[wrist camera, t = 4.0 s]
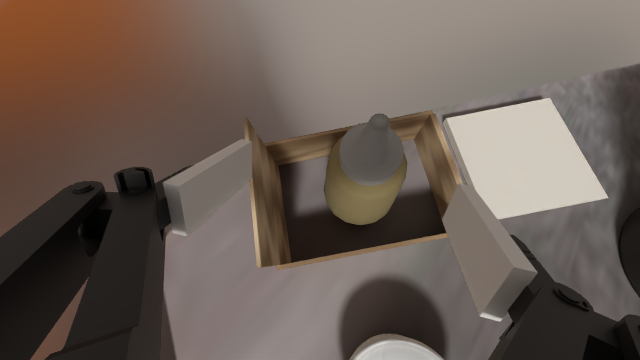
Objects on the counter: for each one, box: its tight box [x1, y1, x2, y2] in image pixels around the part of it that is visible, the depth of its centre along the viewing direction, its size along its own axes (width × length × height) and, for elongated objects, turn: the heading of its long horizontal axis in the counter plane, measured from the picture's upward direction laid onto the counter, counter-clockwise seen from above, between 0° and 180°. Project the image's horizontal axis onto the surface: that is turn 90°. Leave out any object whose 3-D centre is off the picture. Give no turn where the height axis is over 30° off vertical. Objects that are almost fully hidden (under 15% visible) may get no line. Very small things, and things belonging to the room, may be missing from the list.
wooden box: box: [244, 110, 463, 270], centre depth 25 cm, size 14×20×12 cm
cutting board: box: [443, 98, 608, 219], centre depth 30 cm, size 14×14×1 cm
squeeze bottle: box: [324, 114, 407, 225], centre depth 22 cm, size 8×8×18 cm
